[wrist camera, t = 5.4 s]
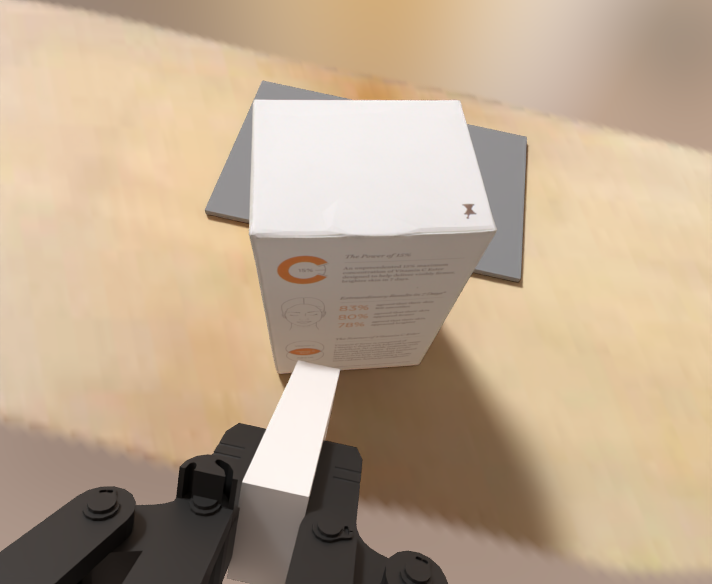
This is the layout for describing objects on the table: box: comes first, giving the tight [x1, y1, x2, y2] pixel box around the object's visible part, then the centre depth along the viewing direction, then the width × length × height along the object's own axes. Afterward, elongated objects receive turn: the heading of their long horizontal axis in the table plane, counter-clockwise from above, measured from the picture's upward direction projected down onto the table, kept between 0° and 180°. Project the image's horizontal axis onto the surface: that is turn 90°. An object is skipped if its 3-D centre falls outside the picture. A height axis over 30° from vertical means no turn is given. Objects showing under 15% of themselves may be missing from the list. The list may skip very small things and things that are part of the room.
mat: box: [205, 81, 527, 282], centre depth 33 cm, size 20×12×1 cm, turn 79°
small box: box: [249, 99, 497, 374], centre depth 22 cm, size 8×6×13 cm
